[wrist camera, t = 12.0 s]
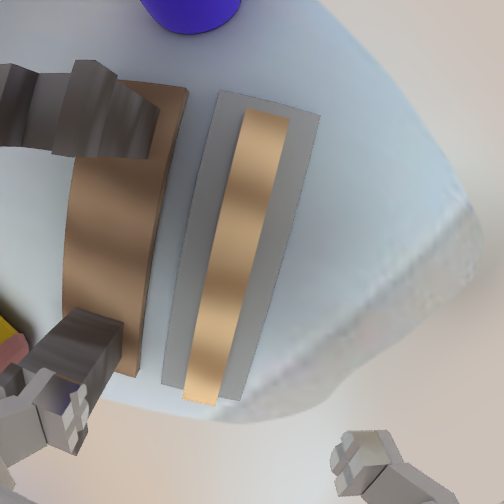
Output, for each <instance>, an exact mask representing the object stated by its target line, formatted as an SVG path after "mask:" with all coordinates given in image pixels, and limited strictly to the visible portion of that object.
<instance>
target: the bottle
mask: <svg viewBox="0 0 504 504" xmlns="http://www.w3.org/2000/svg"><path fill="white" fill-rule="evenodd" d="M140 1H141V2H142V4H143V5H144V7H145V8H146V9H147V11H148V12H149V13H150V15H151V16H152V17H153V18H154V19H155V20H156V21H157V22H158V23H159V24H160V25H161V26H163V27H164V28H166V29H168V30H170V31H173V32H176V33H182V34H196V33H202V32H206V31H209V30H212V29H215V28H217V27H219V26H221V25H222V24H224V23H225V22H227V21H228V20H229V19H230V18H231V17H232V16H233V15H234V14H235V12H236V11H237V9H238V7H239V5H240V2H241V0H140Z"/></svg>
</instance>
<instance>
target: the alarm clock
mask: <svg viewBox="0 0 504 504" xmlns="http://www.w3.org/2000/svg"><path fill="white" fill-rule="evenodd" d="M28 353H29V347H28V343H27V341H26V339H25V337H24V334H23V333H19V332H17V331H16V330H15V329H14V328H13V327H12V326H11V325H10V324H9V323H8V322H7V321H5V320H4V319H3V318H2V317H1V316H0V374H1V372H2V371H3V370H4V369H5V368H6V367H7V366H8V365H9V364H10V363H11V362H12V363H14V364H16V365H17V364H18V363H19V362H20V361H21V360H22V359H23V358H24V357H25V356H26V355H27V354H28Z"/></svg>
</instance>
